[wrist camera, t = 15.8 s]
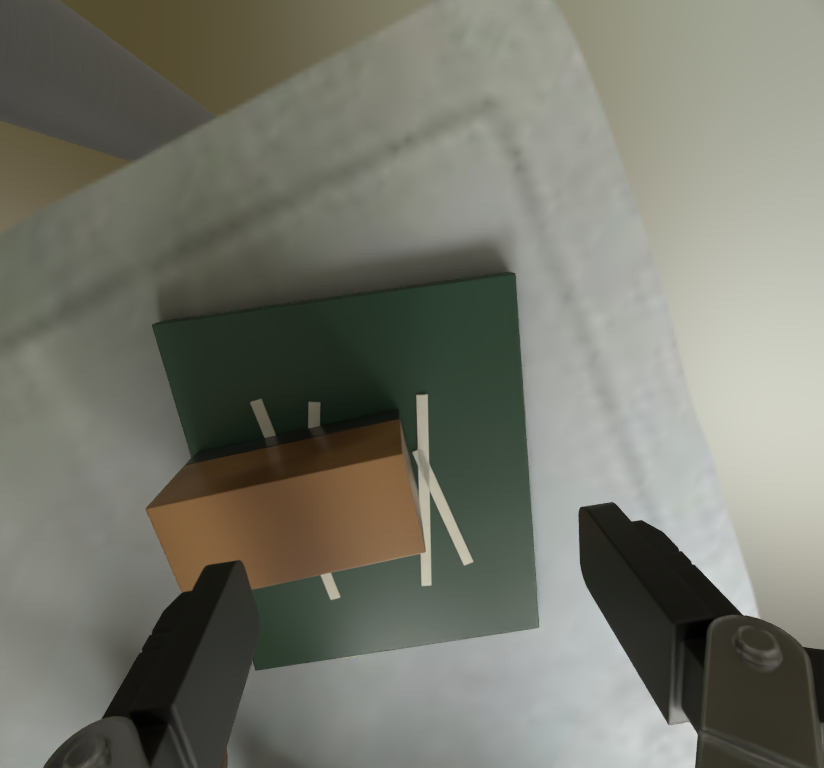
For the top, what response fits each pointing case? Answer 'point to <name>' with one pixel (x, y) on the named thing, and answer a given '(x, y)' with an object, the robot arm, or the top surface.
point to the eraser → (294, 503)
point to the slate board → (426, 438)
